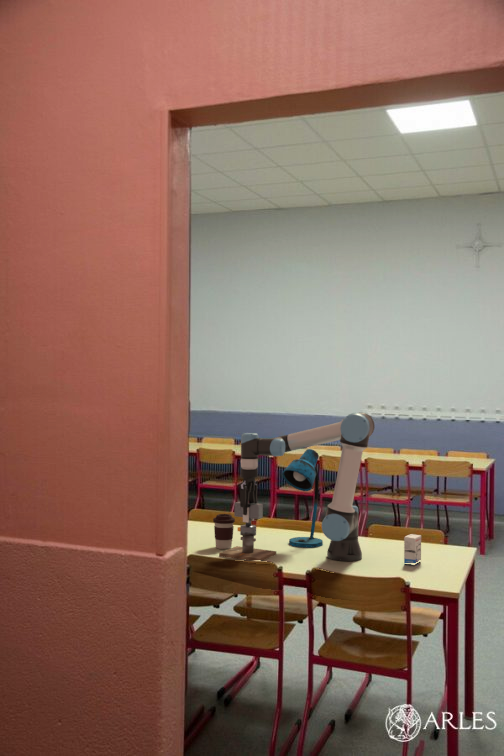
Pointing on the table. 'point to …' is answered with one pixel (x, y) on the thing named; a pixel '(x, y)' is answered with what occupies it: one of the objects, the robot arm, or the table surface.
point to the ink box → (412, 548)
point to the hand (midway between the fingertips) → (248, 521)
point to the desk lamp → (302, 479)
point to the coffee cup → (223, 530)
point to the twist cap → (254, 512)
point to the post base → (247, 556)
